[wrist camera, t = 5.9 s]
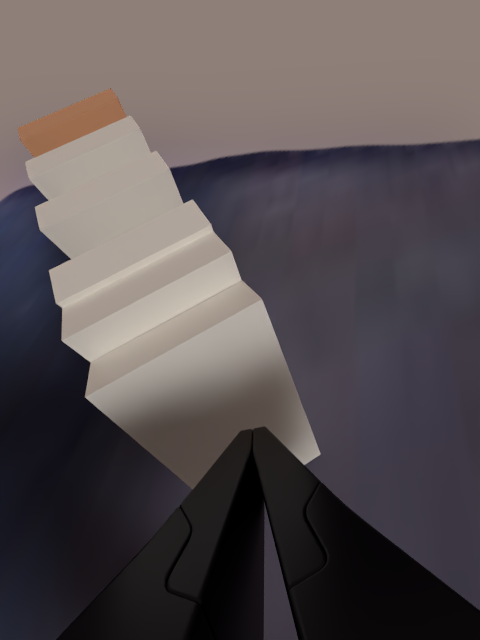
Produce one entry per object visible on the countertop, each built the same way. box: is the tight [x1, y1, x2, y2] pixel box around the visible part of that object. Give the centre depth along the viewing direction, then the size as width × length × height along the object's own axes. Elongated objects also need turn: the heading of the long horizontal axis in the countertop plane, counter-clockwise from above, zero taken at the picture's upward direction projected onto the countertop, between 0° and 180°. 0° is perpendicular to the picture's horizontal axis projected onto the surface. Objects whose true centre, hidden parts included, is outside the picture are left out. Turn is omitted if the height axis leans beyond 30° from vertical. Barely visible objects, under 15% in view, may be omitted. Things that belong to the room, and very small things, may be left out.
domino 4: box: [49, 200, 213, 308], centre depth 14 cm, size 2×6×10 cm, turn 119°
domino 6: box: [85, 281, 321, 489], centre depth 11 cm, size 2×6×10 cm, turn 119°
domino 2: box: [25, 116, 151, 200], centre depth 17 cm, size 2×6×10 cm, turn 119°
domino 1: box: [18, 88, 126, 157], centre depth 19 cm, size 2×6×10 cm, turn 119°
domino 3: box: [35, 151, 183, 259], centre depth 15 cm, size 2×6×10 cm, turn 119°
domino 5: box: [62, 231, 241, 362], centre depth 12 cm, size 2×6×10 cm, turn 119°
